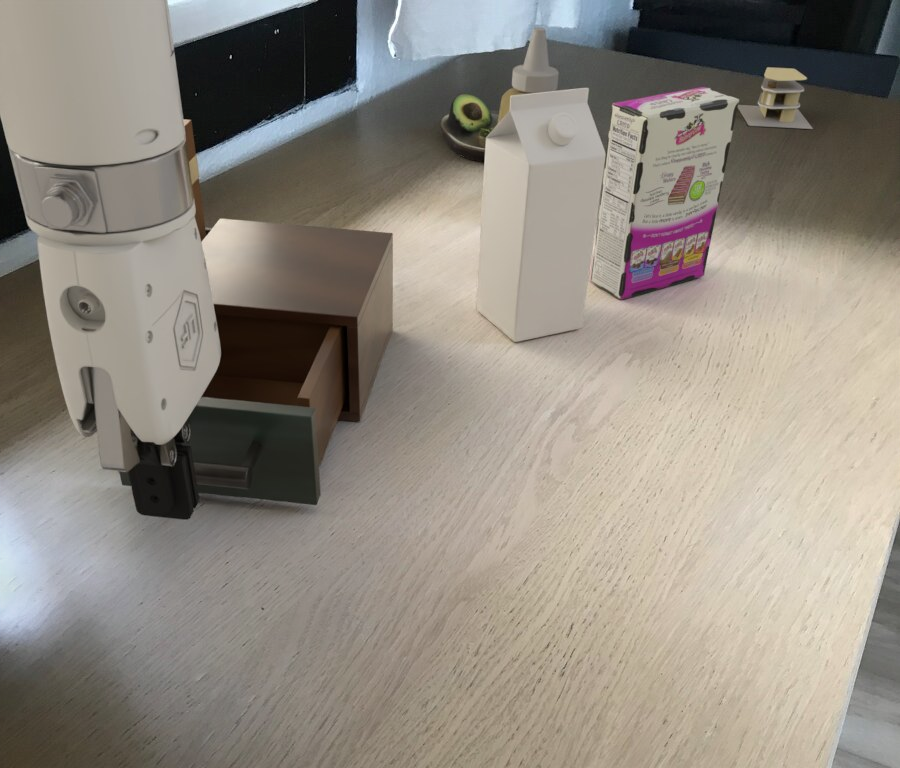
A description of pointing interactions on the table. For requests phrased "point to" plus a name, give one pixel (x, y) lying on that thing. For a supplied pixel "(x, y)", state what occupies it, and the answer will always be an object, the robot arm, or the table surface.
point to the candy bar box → (661, 189)
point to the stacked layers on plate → (778, 101)
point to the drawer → (268, 409)
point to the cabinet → (309, 286)
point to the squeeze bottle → (532, 72)
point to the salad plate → (468, 126)
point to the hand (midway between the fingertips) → (169, 508)
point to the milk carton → (539, 214)
